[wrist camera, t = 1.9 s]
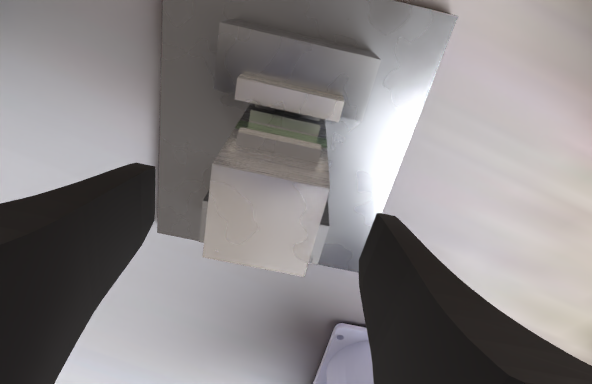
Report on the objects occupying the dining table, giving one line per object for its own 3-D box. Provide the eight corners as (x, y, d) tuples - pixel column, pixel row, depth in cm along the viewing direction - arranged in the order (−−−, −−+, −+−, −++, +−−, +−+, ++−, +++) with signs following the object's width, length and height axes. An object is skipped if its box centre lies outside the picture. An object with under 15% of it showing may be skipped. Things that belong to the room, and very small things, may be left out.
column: (306, 188, 19) (301, 286, 12) (240, 174, 18) (201, 267, 12) (327, 107, 17) (334, 175, 10) (253, 90, 16) (213, 149, 10)
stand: (357, 263, 22) (365, 316, 18) (162, 224, 21) (131, 271, 18) (451, 15, 15) (493, 20, 12) (171, -53, 15) (123, -70, 11)
